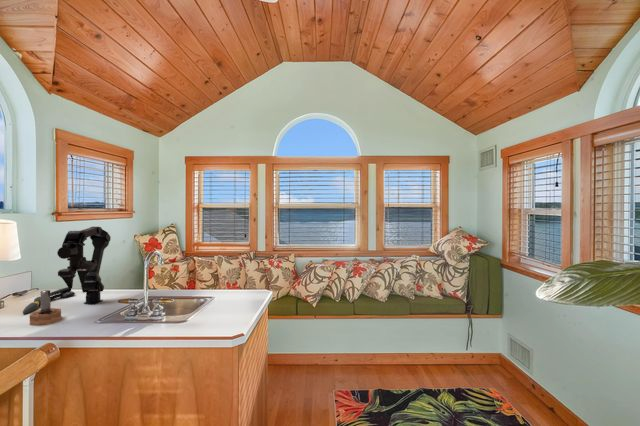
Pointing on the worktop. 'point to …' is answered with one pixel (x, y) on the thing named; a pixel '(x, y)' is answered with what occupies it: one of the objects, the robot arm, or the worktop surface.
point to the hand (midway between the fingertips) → (76, 286)
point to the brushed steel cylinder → (45, 302)
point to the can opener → (61, 293)
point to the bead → (45, 317)
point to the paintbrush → (32, 305)
